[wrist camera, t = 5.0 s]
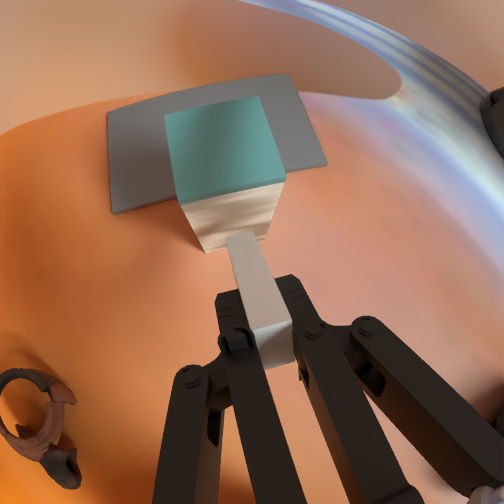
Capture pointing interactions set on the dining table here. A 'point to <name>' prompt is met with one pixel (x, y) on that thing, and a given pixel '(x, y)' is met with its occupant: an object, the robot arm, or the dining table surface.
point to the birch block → (225, 169)
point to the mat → (153, 110)
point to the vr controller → (45, 429)
